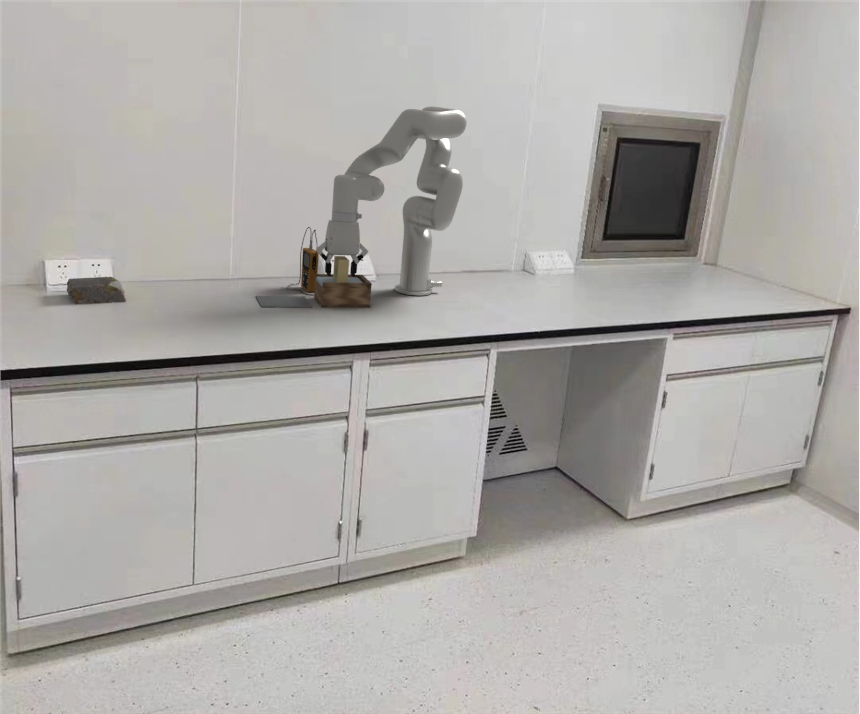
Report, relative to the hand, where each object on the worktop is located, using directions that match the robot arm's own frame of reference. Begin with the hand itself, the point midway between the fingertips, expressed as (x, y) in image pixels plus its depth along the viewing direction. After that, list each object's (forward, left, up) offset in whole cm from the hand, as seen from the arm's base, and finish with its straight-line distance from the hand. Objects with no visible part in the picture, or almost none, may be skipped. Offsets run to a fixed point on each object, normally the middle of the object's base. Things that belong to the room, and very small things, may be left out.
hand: (340, 274), depth 263 cm
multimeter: (+10, -15, -9) cm, 20 cm away
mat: (+17, 0, -9) cm, 19 cm away
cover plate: (0, 0, -3) cm, 3 cm away
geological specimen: (+70, -3, -9) cm, 71 cm away
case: (-1, 0, -9) cm, 9 cm away
